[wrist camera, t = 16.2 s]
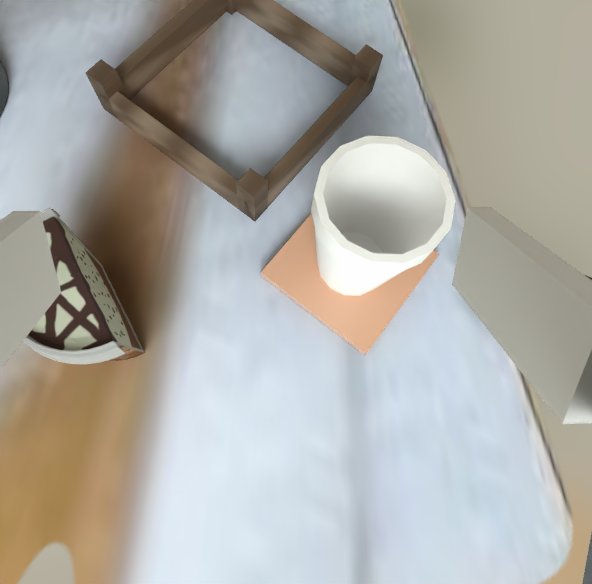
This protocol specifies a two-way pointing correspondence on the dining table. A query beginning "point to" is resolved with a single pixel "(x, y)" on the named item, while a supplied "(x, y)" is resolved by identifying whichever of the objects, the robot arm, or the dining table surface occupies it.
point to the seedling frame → (178, 36)
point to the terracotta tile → (331, 304)
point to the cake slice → (81, 306)
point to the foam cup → (378, 212)
